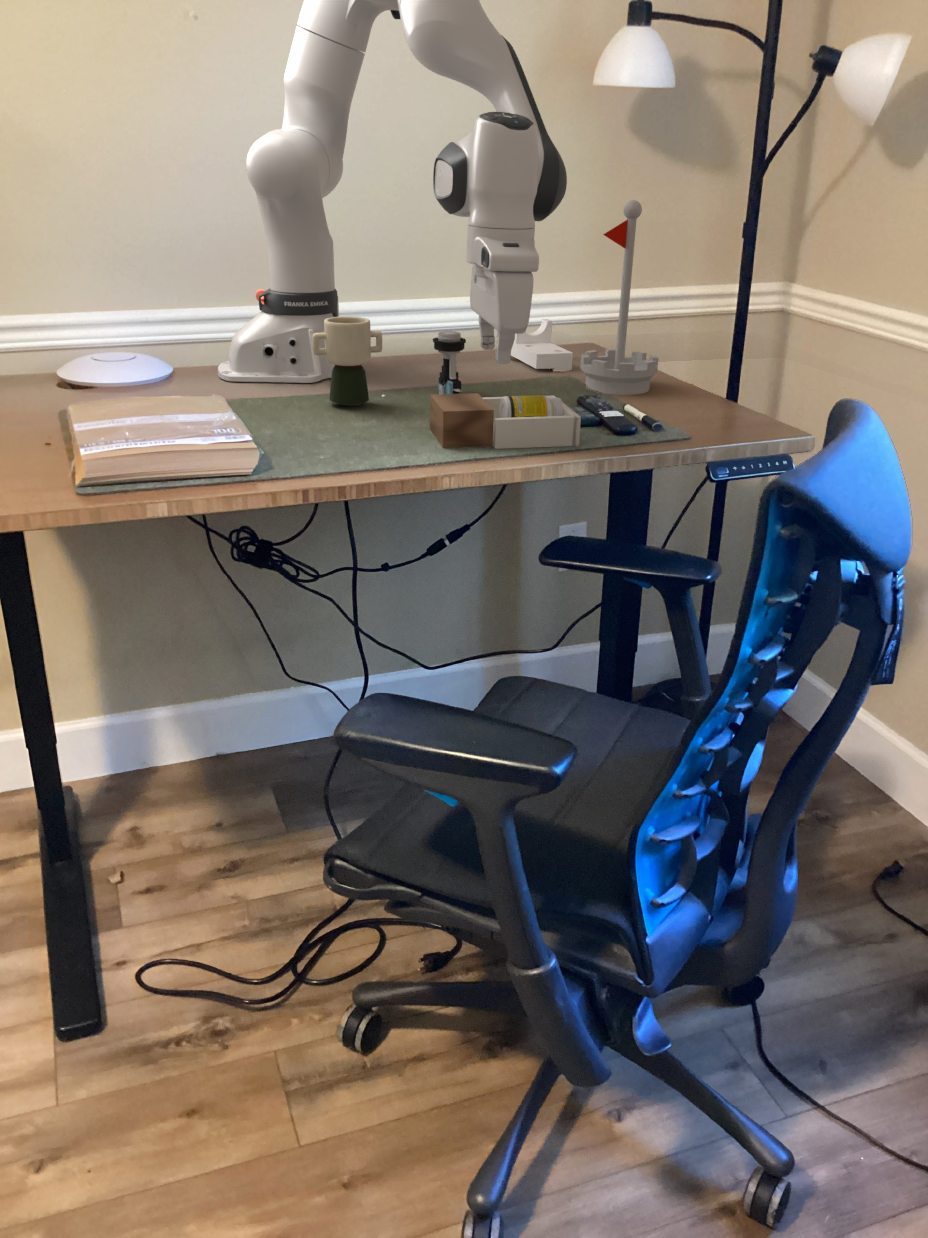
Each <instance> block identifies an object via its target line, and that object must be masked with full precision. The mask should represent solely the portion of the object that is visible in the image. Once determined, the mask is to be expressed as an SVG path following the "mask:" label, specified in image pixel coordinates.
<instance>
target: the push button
mask: <svg viewBox="0 0 928 1238" xmlns="http://www.w3.org/2000/svg"><path fill="white" fill-rule="evenodd" d="M432 342H433V348H434V350H435V351H438V353H440V354H442V355H441V372H439V376H438V379H437V380H438V382H437V384H438V385H437V387H438V388H437V392H438V393H437V394H460V392H461V393H462V386H463V385H462V381H461V379H460V380H459V372H458V371H457V355H458V354H459V353H461V352H462V351H463V350H465V343H467V339H466V338H465V337H464V338H463V337H462V336H461V332H459V331H452V330H451V331H450V330H449V331H448V330H447V331H445V330H443V331H439V332H438V334H437V337H433V339H432Z"/></svg>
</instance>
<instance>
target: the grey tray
mask: <svg viewBox="0 0 928 1238" xmlns="http://www.w3.org/2000/svg"><path fill="white" fill-rule="evenodd" d="M545 396H546V397H547V398H548V399H549V398H557V397H556V396H555V395H545ZM502 397H503V396H493V397H492V396H491V397H490V396H489V397H488V396H486V397H482V398H483V399H484V400H485V401H486V402H487V403H488V404H489V405H490V406H491V407H492V409H493V410H494V420H493V446H492V448H494V449H495V450H498V449H499V450H502V449H524V448H525V449H526V448H543V447H544V448H546V447H547V448H552V447H579V446H580V436H581V421H582V420H581V419H582V417H581V416H580V415H579V414H578V413H576V411H575V410H573V409H571V407H569V406H568V405H566V404H565V403H564V401H562V404H563V416H544V417H513V418H500V416H499V406H500V401H501V399H502Z"/></svg>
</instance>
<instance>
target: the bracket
mask: <svg viewBox="0 0 928 1238" xmlns="http://www.w3.org/2000/svg"><path fill="white" fill-rule="evenodd" d="M552 325H553V321H552V320H550V319H547V318H542V319H541V323H540V326H539V327H538V329H536V330H535V331H533V332H529V333H528V332H526V331H525V333H522V334H515V340H514V343H513V346H512V350H511V356H512V357H514V358H515V359H518V360H519V361H521V362H523V363H524V364H527V365H528V366H531V367H532V368H534V369H535V370H539V369H540V370H541V369H542V370H543V369H548V368H550V369H552V370H572V369H573V357H574V355H573V354H574V353H573V352H572V351H570V350H567V349H565V348H563V347H561V346H559V345H556V344H554V343H552V327H553V326H552ZM550 369H549V370H550ZM572 371H573V370H572Z"/></svg>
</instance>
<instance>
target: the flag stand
mask: <svg viewBox="0 0 928 1238" xmlns="http://www.w3.org/2000/svg"><path fill="white" fill-rule="evenodd" d="M642 212H643V208H642V204H641V203H640V202H639V201H638V200H635V199H632V200H628V201H627V202H625V205H624V206H623V215H624V216H625V218H626V220H624V221H622V222H621V223H619V224H618V225H616V226H615V227H613V228H611V229H609V230H607V232H604V233H603V234H602V235H603V236H605V237H606V238H608V239H609V240H611V241H612V242H614V243H616V244H617V245H618V246H620V247H622V249H623V248H624V249H623V250H624V253H623V264H622V274H621V275H622V276H621V287H620V296H619V297H620V299H619V310H618V311H619V312H618V322H617V323H618V324H617V335H616V348H607V349H606V348H605V354H604V355H598V352H599V351H598V350H595V349H593V350H587V351H585V352H584V354H580V355H581V357H580V370H581V372H582V373H584V374H585V384H586V385H587V386H588V387H590V388H592V389H594V390H597V391H599V392H602V393H601V394H606V395H613V396H614V395H615V396H616V395H617V396H632V395H641V394H646V393H647V392H649V391H650V388H651V387H650V386H651V379H652V378H653V377H654V376H656V375H657V374H658V367H659V357H658V356H657V355H654V354H653V355H649V356H648V357H649V358H648V359H647V355H648V353H647V352H645V351H639V350H632V352H631V356H626V355H625V353H626V343H627V335H628V334H627V332H628V321H629V320H628V319H629V311H630V297H631V285H632V276H633V265H634V264H633V262H634V254H635V253H634V252H635V244H636V243H635V241H636V231H637V230H636V228H637V220H638V218H639V217H640V216H641V214H642ZM585 384H584V385H585ZM599 392H598V393H599Z"/></svg>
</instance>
